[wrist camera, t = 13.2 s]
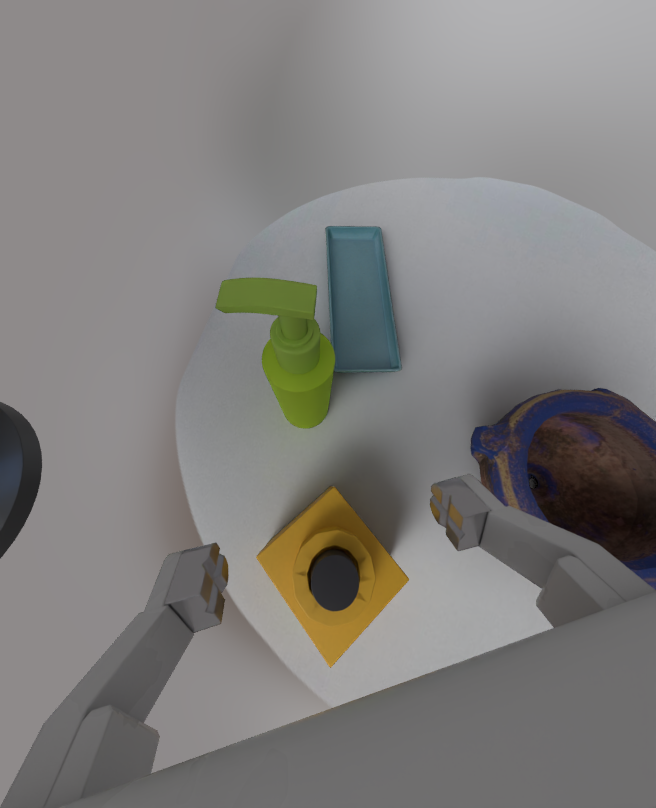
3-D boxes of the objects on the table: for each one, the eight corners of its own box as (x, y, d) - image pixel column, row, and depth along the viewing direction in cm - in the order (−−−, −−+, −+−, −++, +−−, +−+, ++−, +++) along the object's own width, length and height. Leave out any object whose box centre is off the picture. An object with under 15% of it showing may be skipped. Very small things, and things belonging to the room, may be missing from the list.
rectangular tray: (324, 237, 42) (325, 222, 39) (378, 238, 42) (381, 223, 40) (330, 379, 33) (331, 371, 31) (396, 378, 34) (402, 370, 32)
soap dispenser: (278, 383, 33) (225, 246, 14) (329, 387, 33) (347, 257, 14) (272, 425, 31) (201, 334, 12) (326, 430, 31) (341, 346, 12)
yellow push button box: (268, 541, 27) (250, 563, 19) (330, 486, 29) (335, 486, 22) (327, 625, 25) (331, 686, 17) (389, 559, 27) (418, 588, 19)
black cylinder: (302, 571, 20) (301, 579, 18) (335, 539, 21) (337, 543, 19) (331, 612, 19) (332, 624, 17) (364, 576, 20) (369, 585, 18)
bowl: (432, 424, 32) (480, 399, 23) (554, 401, 34) (647, 369, 24) (484, 583, 27) (576, 637, 17) (626, 546, 29) (780, 577, 19)
